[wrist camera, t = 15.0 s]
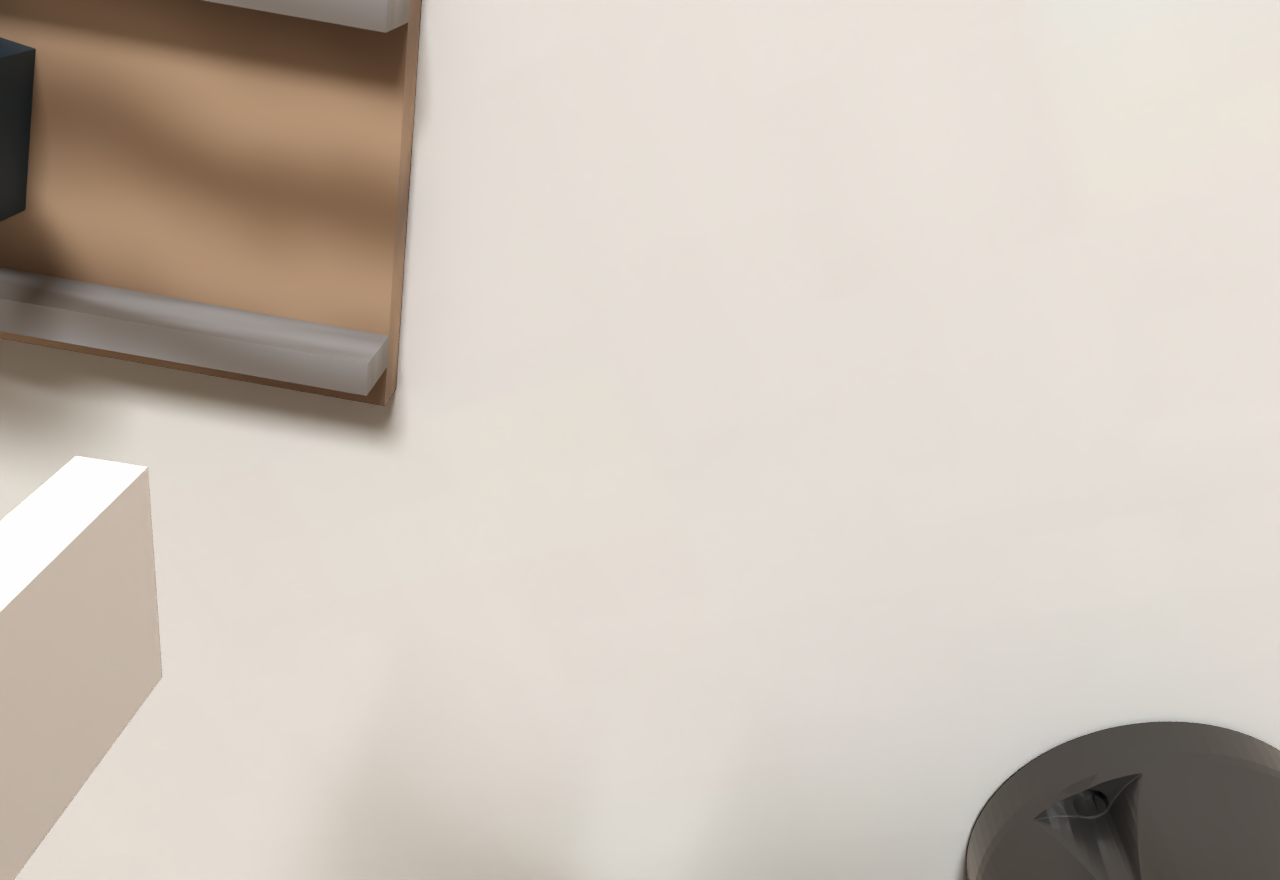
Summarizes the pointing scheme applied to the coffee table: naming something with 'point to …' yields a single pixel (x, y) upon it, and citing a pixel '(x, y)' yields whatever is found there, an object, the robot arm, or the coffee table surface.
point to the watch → (15, 124)
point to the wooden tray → (217, 187)
